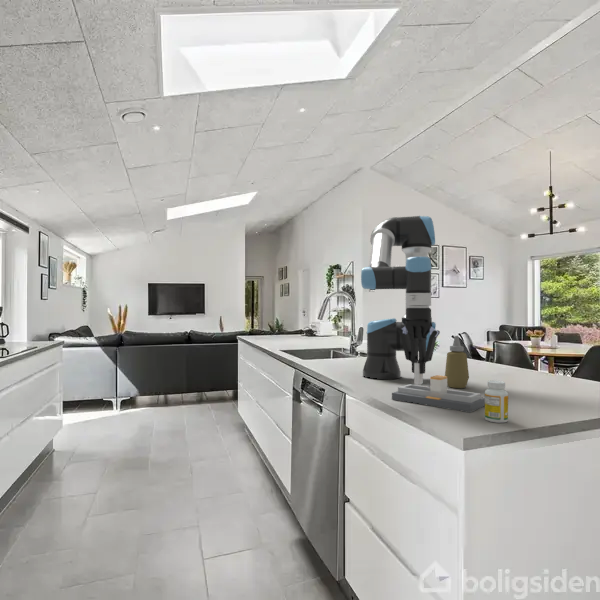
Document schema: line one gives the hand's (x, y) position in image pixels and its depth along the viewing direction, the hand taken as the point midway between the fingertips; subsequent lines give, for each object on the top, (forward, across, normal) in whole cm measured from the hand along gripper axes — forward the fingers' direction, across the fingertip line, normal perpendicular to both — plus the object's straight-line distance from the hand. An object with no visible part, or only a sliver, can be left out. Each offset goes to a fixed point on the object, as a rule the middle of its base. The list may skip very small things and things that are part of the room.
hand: (418, 383), depth 136 cm
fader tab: (+2, +7, 0) cm, 7 cm away
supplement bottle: (+5, +26, -11) cm, 29 cm away
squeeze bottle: (+5, +1, +28) cm, 28 cm away
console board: (+5, +6, 0) cm, 8 cm away
